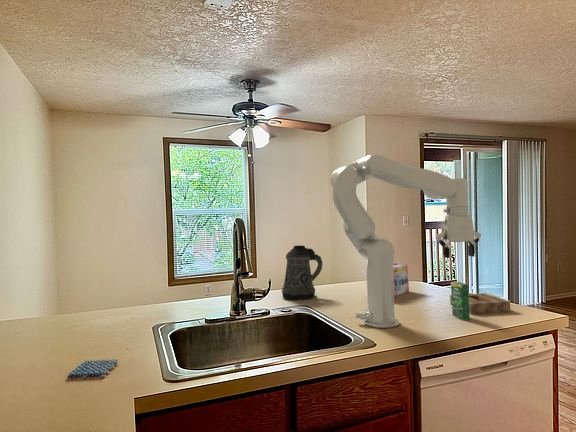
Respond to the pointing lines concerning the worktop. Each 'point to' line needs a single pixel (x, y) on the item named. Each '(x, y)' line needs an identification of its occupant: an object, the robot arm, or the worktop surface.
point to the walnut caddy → (486, 304)
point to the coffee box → (460, 300)
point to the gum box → (400, 279)
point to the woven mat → (93, 369)
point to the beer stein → (300, 274)
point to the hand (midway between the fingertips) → (459, 256)
